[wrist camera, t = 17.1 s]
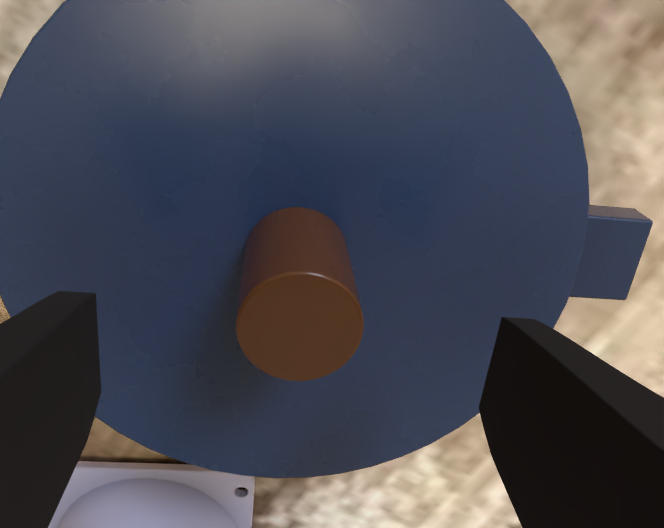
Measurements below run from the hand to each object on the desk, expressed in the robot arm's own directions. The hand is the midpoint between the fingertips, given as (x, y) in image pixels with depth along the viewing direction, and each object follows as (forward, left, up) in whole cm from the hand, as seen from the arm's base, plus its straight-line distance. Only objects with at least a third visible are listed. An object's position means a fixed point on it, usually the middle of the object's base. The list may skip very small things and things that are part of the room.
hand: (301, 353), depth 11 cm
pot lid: (0, 0, -5) cm, 5 cm away
